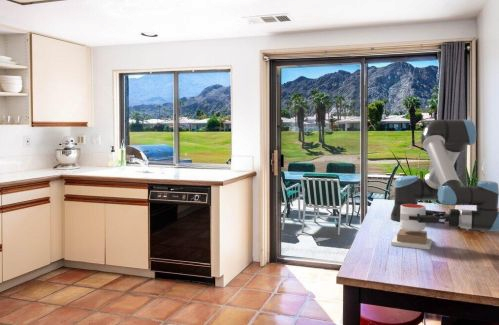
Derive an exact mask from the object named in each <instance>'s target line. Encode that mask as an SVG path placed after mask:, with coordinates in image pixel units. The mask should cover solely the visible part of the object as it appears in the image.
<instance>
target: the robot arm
mask: <svg viewBox="0 0 499 325" xmlns="http://www.w3.org/2000/svg"><path fill="white" fill-rule="evenodd" d="M476 140H477V128H476V125H475V123H474V122H473V121H472V120H470V119H463V118H462V119H435V120H432V121H431V122H429V123H428V124H426V126H425V127H423V129H422V132H421V136H420V143H421V146H422V148H423V150H425V151H426V153H427V154H428V157H429V160H430V163H431V165H432V167H431V170H430V172H428V173H426V175H425V176H424V178H421V177H419V175H403V176H402V175H401V176H399V177H396V179H395V180H394V186H393V187H394V204H393V208H392V210H391V212H390V219H391V220H393V221H395V222H400V220H408V221H418V222H419V223H425V224H441V225H444V224H446V223H448V227H450V228H453V229H454V228H456V229H457V228H458V229H459V227H460V229H465V230H466V231H469V229H470V230H480V231H489V232H493V231H495V232H499V209H498V206H499V184H498V183H497V182H496V181H492V180H481V181H480V180H479V181H477V183H476V186H475V185H470V186H469V185H466V186H464V185H462V183H461V181H460V179H459V177H458V174H457V172H456V169H455V167H454V165H455V163H456V161H457V159H458V157H459V155H460V153H462V152H464V151H465V150H466V148H467V146H473V145H474V144H475V143H476ZM418 201H438V202H439V203H440V204H441V205H442V206H452V207H453V206H476V207H475V208H476V210H473V209H458V208H456V209H455V208H450V209H449V210H448V211H449V212H448V213H447V212H446V211H439V210H430V209H426V215H420V214H405V213H401V219H400V210H401V205H403V204H418Z"/></svg>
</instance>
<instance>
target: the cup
mask: <svg viewBox="0 0 499 325" xmlns="http://www.w3.org/2000/svg"><path fill="white" fill-rule="evenodd" d="M426 207H427V206H425V205H423V204H418V203H417V204H403V205H401V210H400V219H401V213H405V214H420V215H426V210H427V208H426ZM399 223H400V226H399V227H400V229H404V230H408V231H425V228H426V223H419V222H418V221H408V220H400V221H399Z"/></svg>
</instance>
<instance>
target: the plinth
mask: <svg viewBox="0 0 499 325" xmlns="http://www.w3.org/2000/svg"><path fill="white" fill-rule="evenodd" d="M432 244H433V237H429V236H428V231H427V230H422V231H408V230H404V229H402V228H400V229H399V230H398V232H397V233H396V234H395V235H394V237H393V238H392V240H391V243H390V245H391V246H392V247H393V246H394V247H404V248H413V249H421V250H422V249H423V250H429V251H430V250H431V248H432Z"/></svg>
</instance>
